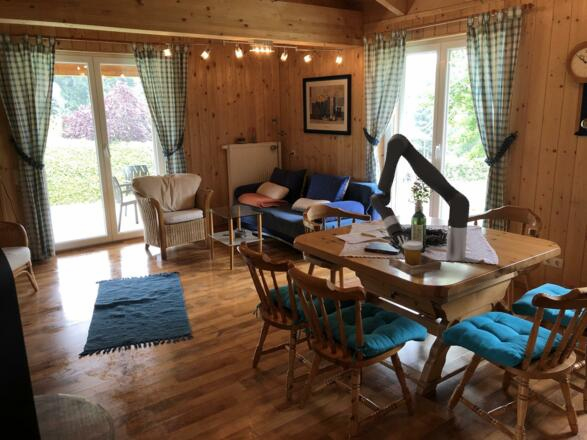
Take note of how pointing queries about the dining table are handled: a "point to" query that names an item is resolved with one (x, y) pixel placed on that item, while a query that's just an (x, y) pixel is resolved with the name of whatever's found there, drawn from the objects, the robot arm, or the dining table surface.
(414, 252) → the amber cup
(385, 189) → the robot arm
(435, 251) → the dining table surface
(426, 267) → the walnut bay
